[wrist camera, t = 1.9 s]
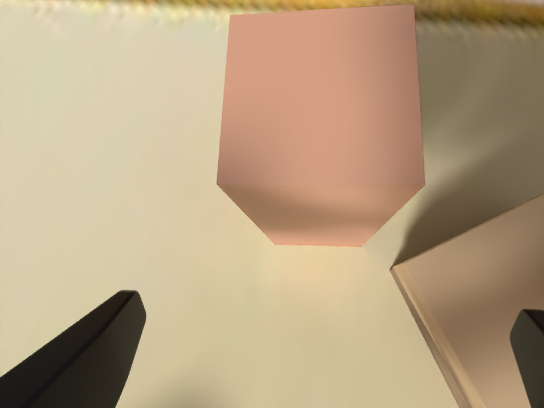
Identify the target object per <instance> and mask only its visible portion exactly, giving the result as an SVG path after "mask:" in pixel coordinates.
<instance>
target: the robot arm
mask: <svg viewBox="0 0 544 408" xmlns="http://www.w3.org/2000/svg"><path fill="white" fill-rule="evenodd" d="M145 322H146V311H145V308H144V305H143V303H142V300H141V297H140V294H139V293H138V292H137V291H135V290H121V291H119V292H117V293H116V294H115V295H113V296H112V297H111V298H109V299H108V300H106V301H105V302H104V303H102V304H101V305H99V306H98V307H97V308H95V309H94V310H93V311H91V312H90V313H88V314H87V315H86V316H84V317H83V318H82V319H80V320H79V321H77V322H76V323H75V324H73V325H72V326H71V327H69V328H68V329H66V330H65V331H64V332H62V333H61V334H59V335H58V336H57V337H55V338H54V339H53V340H51V341H50V342H48V343H47V344H46V345H44V346H43V347H42V348H40V349H39V350H37V351H36V352H35V353H33V354H32V355H30V356H29V357H28V358H26V359H25V360H24V361H22V362H21V363H19V364H18V365H17V366H15V367H14V368H13V369H11V370H10V371H8V372H7V373H6V374H4V375H3V376H1V377H0V408H115V407H116V405H117V402H118V400H119V398H120V395H121V393H122V391H123V388H124V386H125V383H126V381H127V378H128V375H129V372H130V370H131V366H132V363H133V360H134V357H135V354H136V350H137V347H138V344H139V341H140V338H141V335H142V331H143V328H144V325H145ZM510 343H511V347H512V350H513V353H514V356H515V359H516V363H517V366H518V369H519V372H520V375H521V378H522V381H523V385H524V388H525V391H526V394H527V397H528V400H529V403H530V406H531V408H544V310H541V309H522V310H521V311H520V312H519V314H518V316H517V318H516V320H515V322H514V325H513V327H512V329H511V332H510Z"/></svg>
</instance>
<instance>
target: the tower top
mask: <svg viewBox="0 0 544 408" xmlns="http://www.w3.org/2000/svg"><path fill="white" fill-rule="evenodd" d="M392 268H393V269H394V271H395V273H396V275H397V277H398V278H399V280H400V282H401V284H402V285H403V287H404V289H405V291H406V293H407V294H408V296H409V298H410V300H411V301H412V303H413V305H414V307H415V308H416V310H417V312H418V314H419V316H420V317H421V319H422V321H423V323H424V324H425V326H426V328H427V330H428V332H429V333H430V335H431V337H432V339H433V340H434V342H435V344H436V346H437V347H438V349H439V351H440V353H441V355H442V356H443V358H444V360H445V362H446V363H447V365H448V367H449V369H450V371H451V372H452V374H453V376H454V378H455V379H456V381H457V383H458V385H459V386H460V388H461V390H462V392H463V394H464V395H465V397H466V399H467V401H468V402H469V404H470V406H471V408H531V406H530V403H529V400H528V397H527V394H526V391H525V388H524V385H523V381H522V378H521V375H520V372H519V369H518V366H517V363H516V359H515V356H514V353H513V350H512V347H511V343H510V332H511V329H512V327H513V325H514V322H515V320H516V318H517V316H518V314H519V312H520V311H521V310H522V309H541V310H544V194H541V195H539V196H537V197H534V198H532V199H530V200H528V201H526V202H524V203H522V204H520V205H518V206H516V207H514V208H512V209H510V210H508V211H506V212H504V213H502V214H500V215H498V216H496V217H493V218H491V219H489V220H487V221H485V222H483V223H481V224H479V225H477V226H475V227H473V228H471V229H469V230H467V231H465V232H463V233H461V234H459V235H457V236H455V237H453V238H451V239H448V240H446V241H444V242H442V243H440V244H438V245H436V246H434V247H432V248H430V249H428V250H426V251H424V252H422V253H420V254H418V255H416V256H414V257H412V258H410V259H408V260H406V261H403V262H401V263H399V264H397V265H395V266H393V267H392Z"/></svg>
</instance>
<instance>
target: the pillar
mask: <svg viewBox="0 0 544 408" xmlns="http://www.w3.org/2000/svg"><path fill="white" fill-rule="evenodd" d="M217 185H218V186H219V187H220V188H221V189H222V190H223V191H224V192H225V193H226V194H227V195H228V196H229V197H230V198H231V199H232V200H233V202H234V203H235V204H236V205H237V206H238V207H239V208H240V209H241V210H242V211H243V212H244V213H245V214H246V215H247V216H248V217H249V218H250V219H251V220H252V221H253V222H254V223H255V224H256V225H257V226H258V227H259V228H260V229H261V230H262V232H263V233H264V234H265V235H266V236H267V237H268V238H269V239H270V240H271V241H272V242H273V243H274V244H275V245H312V246H350V247H361V246H362V245H363V244H364V243H366V242H367V241H368V240H369V239H370V238H371V237H372V236H373V235H374V234H375V233H376V232H377V231H378V230H379V229H380V228H381V227H382V226H383V225H384V224H385V223H386V222H387V221H388V220H389V219H390V218H391V217H392V216H393V215H394V214H395V213H396V212H397V211H398V210H400V209H401V208H402V207H403V206H404V205H405V204H406V203H407V202H408V201H409V200H410V199H411V198H412V197H413V196H414V195H415V194H416V193H417V192H418V191H419V190H420V189H421V188H422V187H423V186H424V185H425V175H424V159H423V143H422V126H421V110H420V94H419V78H418V62H417V46H416V30H415V13H414V4H404V5H388V6H372V7H356V8H339V9H323V10H307V11H291V12H275V13H259V14H243V15H230V24H229V36H228V48H227V61H226V73H225V86H224V98H223V110H222V123H221V135H220V148H219V160H218V172H217Z"/></svg>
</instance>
